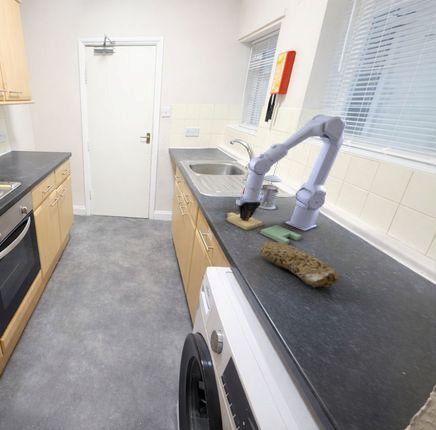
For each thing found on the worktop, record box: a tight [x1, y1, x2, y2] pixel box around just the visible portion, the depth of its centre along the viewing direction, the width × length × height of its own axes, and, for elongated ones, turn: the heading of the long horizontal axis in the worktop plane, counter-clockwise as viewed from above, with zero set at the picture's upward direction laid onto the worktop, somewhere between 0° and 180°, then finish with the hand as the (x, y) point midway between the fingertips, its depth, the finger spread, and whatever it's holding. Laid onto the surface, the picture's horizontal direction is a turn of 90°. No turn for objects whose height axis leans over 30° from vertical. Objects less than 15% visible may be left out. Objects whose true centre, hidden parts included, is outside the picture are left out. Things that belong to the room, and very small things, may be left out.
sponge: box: [259, 241, 340, 288], centre depth 82 cm, size 13×8×20 cm
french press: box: [258, 161, 283, 210], centre depth 125 cm, size 10×12×25 cm
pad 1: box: [226, 211, 264, 231], centre depth 113 cm, size 10×13×6 cm
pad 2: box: [260, 224, 302, 245], centre depth 103 cm, size 10×10×2 cm
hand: (245, 217), depth 112 cm, fingers open, 3 cm apart
